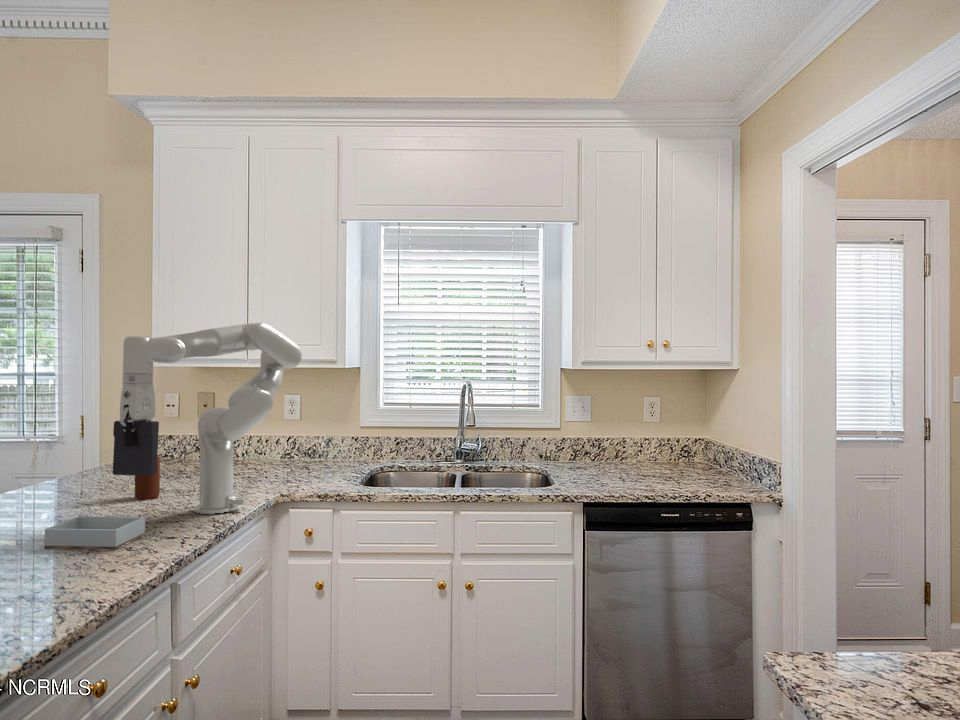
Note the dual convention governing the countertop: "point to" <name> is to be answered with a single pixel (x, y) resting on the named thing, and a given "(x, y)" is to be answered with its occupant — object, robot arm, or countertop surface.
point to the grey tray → (95, 531)
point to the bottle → (148, 485)
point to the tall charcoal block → (136, 450)
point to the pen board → (89, 546)
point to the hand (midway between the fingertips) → (136, 444)
